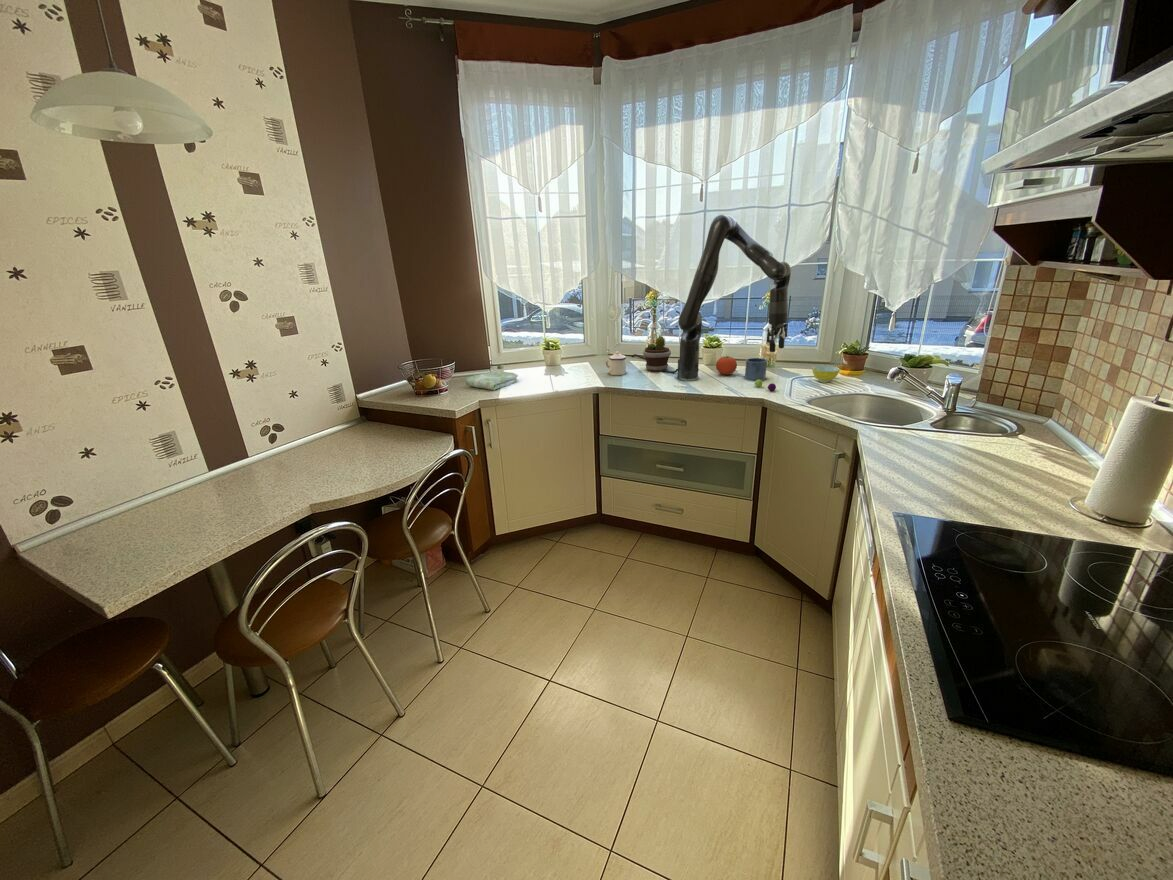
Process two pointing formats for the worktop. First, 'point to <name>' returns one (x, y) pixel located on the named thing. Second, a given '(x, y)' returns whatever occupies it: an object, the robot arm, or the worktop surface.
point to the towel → (492, 380)
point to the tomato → (726, 365)
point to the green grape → (758, 383)
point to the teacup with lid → (617, 364)
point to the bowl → (825, 372)
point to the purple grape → (771, 387)
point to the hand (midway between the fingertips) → (776, 350)
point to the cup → (755, 369)
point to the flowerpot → (657, 355)
